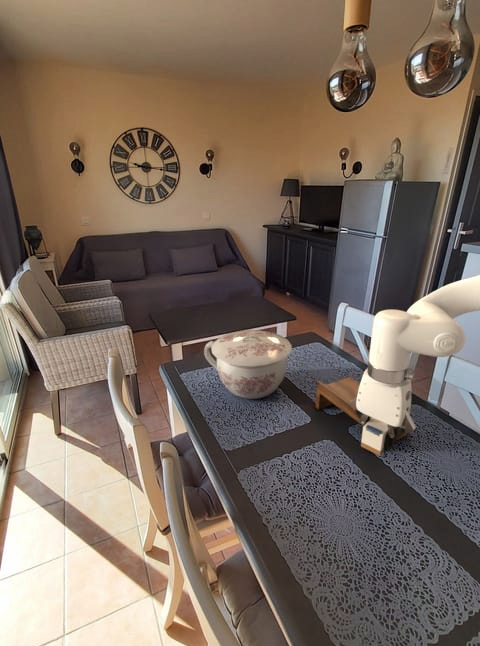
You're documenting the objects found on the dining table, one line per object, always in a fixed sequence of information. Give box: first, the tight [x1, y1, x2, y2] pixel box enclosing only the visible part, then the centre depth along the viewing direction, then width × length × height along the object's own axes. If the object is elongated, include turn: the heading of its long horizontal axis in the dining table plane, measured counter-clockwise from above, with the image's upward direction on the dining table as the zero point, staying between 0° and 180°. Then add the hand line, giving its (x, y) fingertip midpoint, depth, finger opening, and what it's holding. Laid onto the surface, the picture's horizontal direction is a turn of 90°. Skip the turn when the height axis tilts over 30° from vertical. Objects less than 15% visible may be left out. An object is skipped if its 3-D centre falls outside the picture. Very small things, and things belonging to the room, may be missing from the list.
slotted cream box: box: [360, 418, 388, 457], centre depth 81 cm, size 10×4×6 cm, turn 136°
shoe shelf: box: [315, 376, 412, 442], centre depth 109 cm, size 14×24×10 cm, turn 28°
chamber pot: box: [203, 329, 293, 400], centre depth 126 cm, size 28×28×21 cm
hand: (376, 441), depth 80 cm, fingers closed on slotted cream box, 4 cm apart
